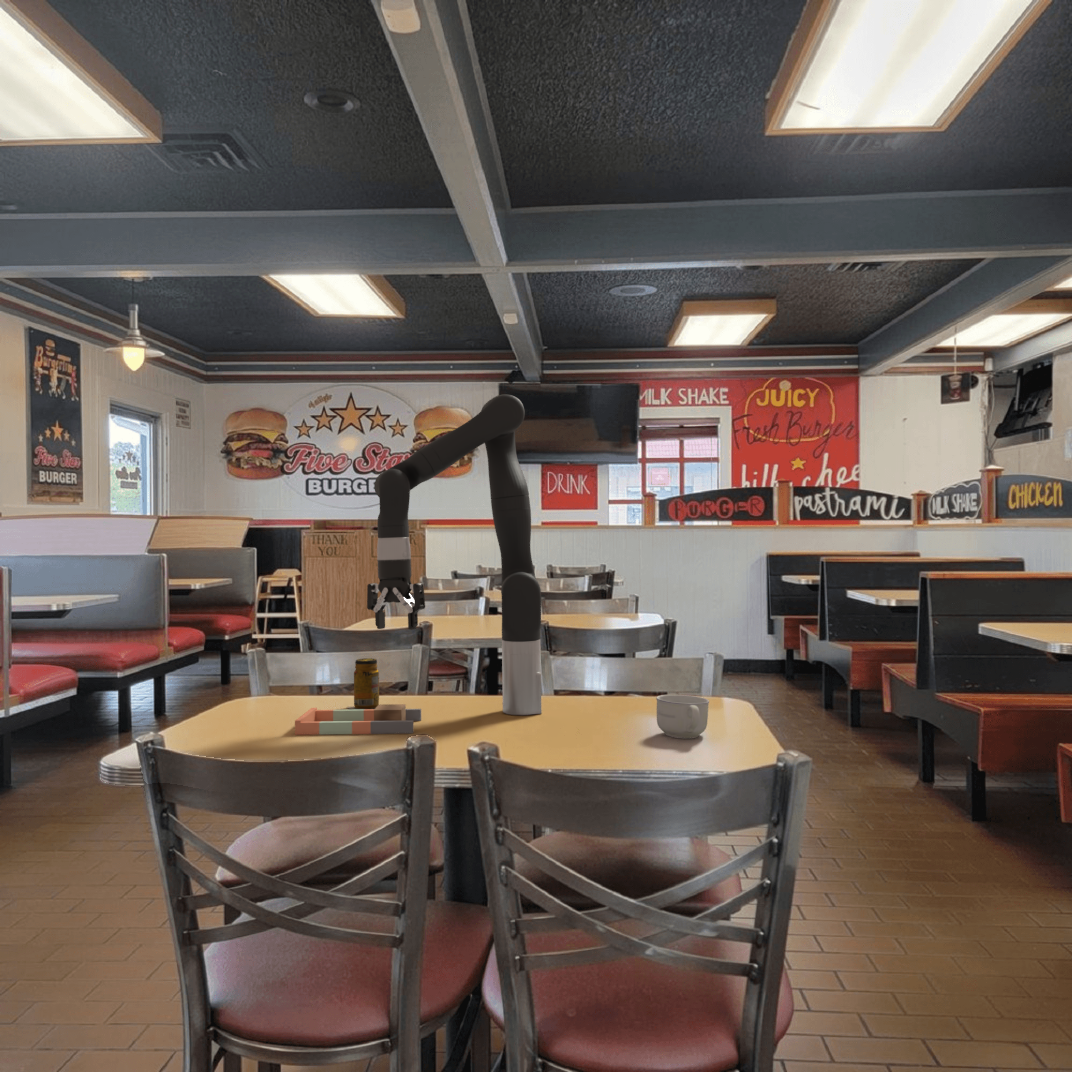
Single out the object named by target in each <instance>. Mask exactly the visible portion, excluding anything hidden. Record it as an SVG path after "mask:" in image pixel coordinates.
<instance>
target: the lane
mask: <svg viewBox="0 0 1072 1072" xmlns="http://www.w3.org/2000/svg"><path fill="white" fill-rule="evenodd" d="M419 721H420V722H421V721H422V708H406V720H403V721H374V709H318V708H317V707H311V708H309V709H308V710H307V711H305V712H304V713H302V715H300V716H299V717H298V718H296V719H295V720H294V735H295V736H296V735H298V736H299V735H367V734H368V735H370V734H371V735H374V734H375V735H378V734H381V735H382V734H385V735H386V734H388V735H389V734H393V735H394V734H414V722H419Z"/></svg>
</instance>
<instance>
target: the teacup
mask: <svg viewBox="0 0 1072 1072" xmlns="http://www.w3.org/2000/svg"><path fill="white" fill-rule="evenodd" d="M655 699H656V723H657V727H658V728H659V729H660V730H661V732H663V733H664V735H665V736H668V737H669V738H670V737H671V738H676V739H695V738H698V737H699V736H700V735H701V734H702V733H704V732H706V731H705V730H706V729H707V726H708V719H709V718H708V717H709V703H710V700H709V699H707V698H705V697H702V696H696V695H688V694H687V695H686V694H661V695H658V696H656V698H655Z"/></svg>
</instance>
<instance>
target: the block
mask: <svg viewBox="0 0 1072 1072" xmlns="http://www.w3.org/2000/svg"><path fill="white" fill-rule="evenodd" d="M406 706H407V705H406V704H405V703H402V704H400V703H399V704H398V703H395V704H393V703H392V704H389V703H388V704H379V705H378V706H377V707H376V708H375V709H374V721H403V720H406V709H407V707H406Z"/></svg>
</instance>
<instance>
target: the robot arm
mask: <svg viewBox="0 0 1072 1072" xmlns="http://www.w3.org/2000/svg"><path fill="white" fill-rule="evenodd" d="M525 413H526V412H525V407H524V404H523V403H522V401H521V400H520V399H519V398H518V397H516V396H514V395H511V394H506V393H505V394H499V395H496V396H493V397H492V398H491V399H489V400H488V401H487V402H485V403H484V405H483V406H482V408H481V410H480V412H479V413H477V414H476V415H475V416H473V417H472V418H470V419H469V420H467V422H465V423H463V424H461V425H460V426H458V427H456V428H454V429H452V430H451V431H449V432H447V433H445V434H444V435H442V436H440V437H438V438H437V439H434V440H433V441H430V443H427V445H424V446H423V447H421V448H419V450H417V451H415V452H414V453H412V454H411V455H410V456H409V457H407V458H406V459H404V460H403V461H401V462H398V463H397V464H395V465H393V466H392V467H390V468H388V469H386V470H384V471H382V472H381V473H379V475H378V476H377V477H376V478H375V481H374V484H373V487H374V491H375V494H376V496H377V497H378V498H379V514H378V515H377V522H376V523H377V547H376V554H377V555H376V557H377V558H376V559H377V560H376V561H377V577H378V579H379V582H378V583H377V582H373V583H368V584H367V586H366V587H367V591H366V593H367V594H366V596H367V597H366V609H367V610H371V611H372V612H374V617H375V618H374V619H375V627H377V628H376V629H377V630H384V629H385V628H386V613H385V612H384V611H385V609H386V607H387V605H389V604H390V603H401V605H403V606H404V607H405V609H406V610H407V612H408V613H407V626H408V627H407V629H408V630H410V631H411V630H416V629H417V627H418V625H419V618H418V614H419V612H420V611H421V610H425V609H426V602H425V601H426V600H425V588H424V587H425V586H424V583H423V582H416V583H412V581H411V577H412V553H411V552H412V550H411V542H410V525H409V508H410V497H411V496H410V495H411V490H413V489H415V488H417V486H418V485H420V484H422V483H424V482H427V481H429V480H432V479H433V478H434V477H436V476H437V475H439V474H441V473H442V472H444V471H446V470H447V469H448V468H450V467H451V466H453V465H454V464H456V463H457V462H458V461H461V459H463V458H464V457H465V456H467V455H468V454H470V453H471V452H472V451H474V450H476V449H477V448H478V447H480V446H482V445H483V444H484V447H485V449H486V455H487V456H486V457H487V463H488V464H487V465H488V466H487V467H488V468H487V469H488V480H489V481H488V482H489V491H490V504H491V513H492V519H493V524H494V525H493V526H494V530H495V535H496V539H497V543H498V546H499V553H500V563H501V586H500V593H501V660H502V661H501V664H502V666H501V672H502V678H501V679H502V682H501V683H502V713H504V714H506V715H511V716H529V715H537V714H542V666H541V665H542V663H541V662H542V661H541V660H542V657H541V654H542V652H541V651H542V650H541V649H542V648H541V638H542V637H541V636H542V635H541V632H542V631H541V630H542V594H541V593H542V590H541V585H540V583H539V582H538V580H537V579H536V574H535V569H534V565H533V563H534V562H533V558H532V552H531V538H532V512H531V509H532V508H531V503H530V502H531V499H530V493H529V488H528V487H529V486H528V484H527V480H526V478H525V475H524V473H523V470H522V468H521V465H520V463H519V459H518V456H517V449H516V430H517V429H519V428H520V427H521V425H522V424H523V422H524V420H525ZM379 592H380V595H378V594H379ZM411 592H412V594H413V596H412V594H411ZM378 596H379V597H378Z"/></svg>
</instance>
